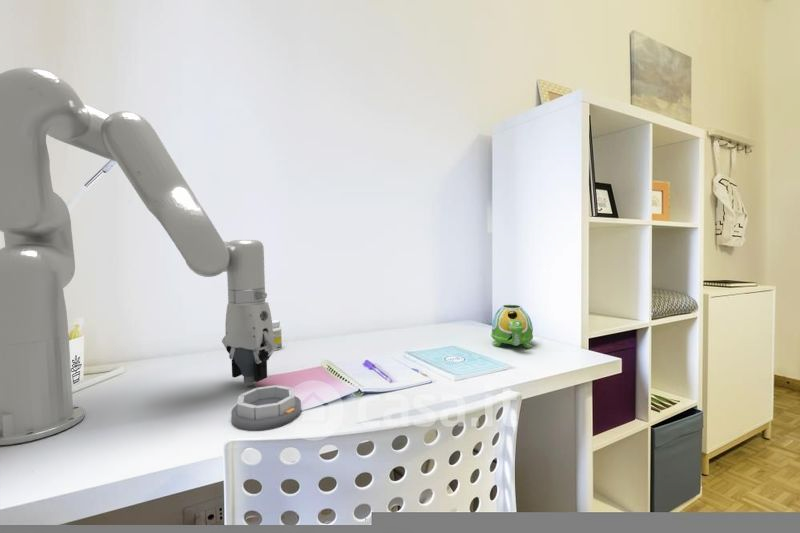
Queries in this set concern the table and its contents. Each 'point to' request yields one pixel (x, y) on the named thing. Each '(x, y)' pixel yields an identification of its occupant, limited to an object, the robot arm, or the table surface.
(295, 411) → the socket
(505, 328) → the turtle holder
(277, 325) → the supplement bottle
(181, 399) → the table surface
